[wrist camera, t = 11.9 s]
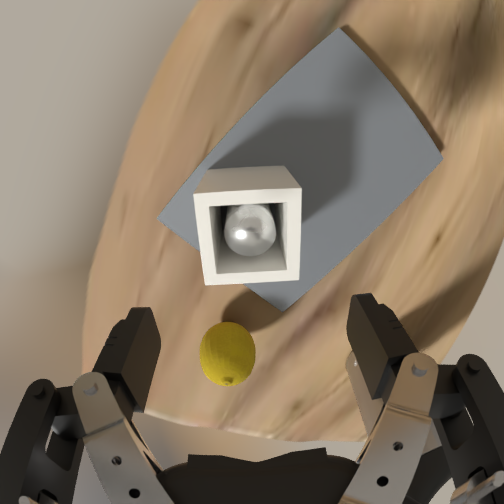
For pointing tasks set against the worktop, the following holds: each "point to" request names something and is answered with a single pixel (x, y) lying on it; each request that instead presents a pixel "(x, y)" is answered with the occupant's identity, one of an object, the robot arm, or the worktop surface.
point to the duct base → (323, 157)
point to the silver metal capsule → (249, 228)
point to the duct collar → (249, 192)
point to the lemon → (227, 354)
